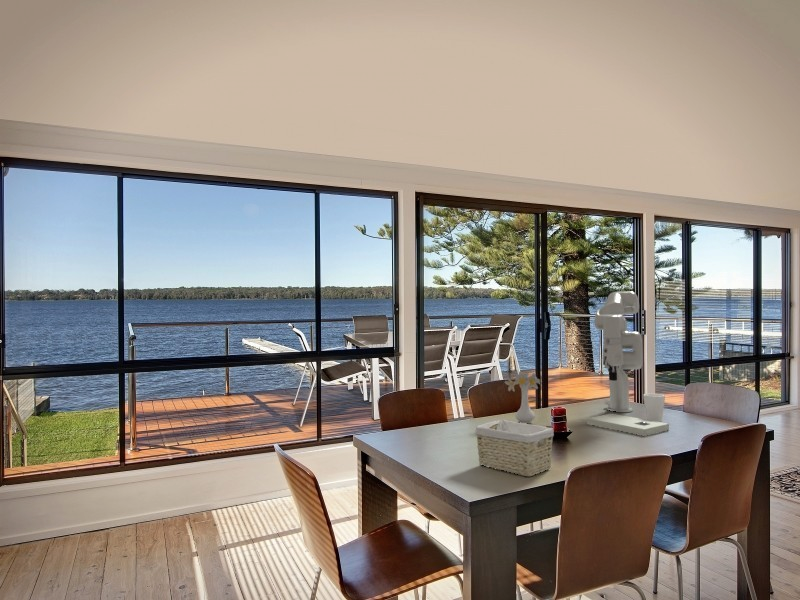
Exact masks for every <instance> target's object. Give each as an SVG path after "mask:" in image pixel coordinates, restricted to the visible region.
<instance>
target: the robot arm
mask: <svg viewBox="0 0 800 600" xmlns="http://www.w3.org/2000/svg"><path fill="white" fill-rule="evenodd" d="M639 311H640V302H639V297H638V295H637V294H636V293H635V292H634V291H628V290H627V291H613V292H611V293H609V295H608V297H607V299H606V300H605V301H604V305H603V306H601V307H599V308H598V309H597V310H596V313H595V314H594V321H593V322H594V327H595V329H596V330H598V331H603V348H602V364H603V366H604V367H603V368H604V369H606V370H607V372H608V381H609V400H605V402H604V405H606V406H607V405H608V406H607V407H606V410H608V411H609V410H610V411H609V412H613V411H616V412H615V413H630V412H632V411H633V408H632V407H630V391H629V389H630V383H629V376H628V374H627V373H626V372H625V371H624V370H640V369H642V367H643V364H644V360H643V358H644V357H643V356H644V355H643V353H644V352H643V351H644V350H643V337H642V334H641V333H640V332H638V331H628V322H627V319H626V318H625V317H624V315H635V314H637V313H638V312H639ZM626 350H632V351H626Z"/></svg>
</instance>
